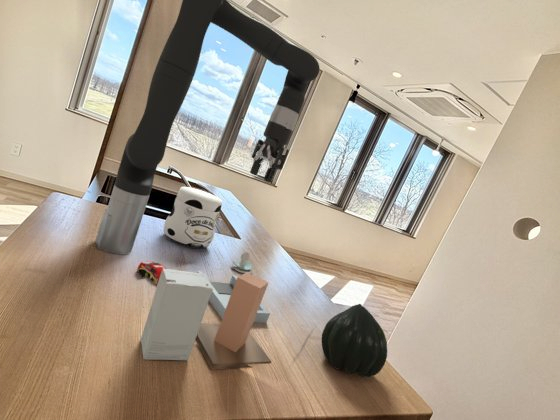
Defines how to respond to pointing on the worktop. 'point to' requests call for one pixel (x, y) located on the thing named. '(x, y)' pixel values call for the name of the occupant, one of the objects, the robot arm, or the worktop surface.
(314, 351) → the worktop surface
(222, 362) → the walnut board
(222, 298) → the grey channel
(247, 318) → the terracotta block
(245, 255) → the pacifier
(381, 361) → the squash
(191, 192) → the milk container
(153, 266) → the race car
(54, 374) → the worktop surface
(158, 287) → the skincare box
